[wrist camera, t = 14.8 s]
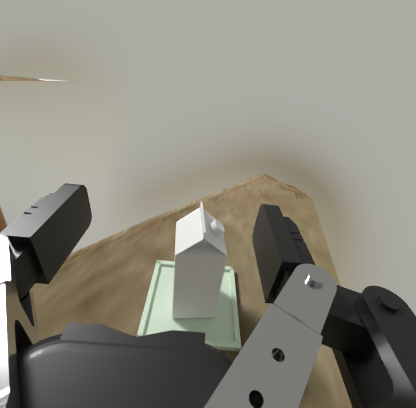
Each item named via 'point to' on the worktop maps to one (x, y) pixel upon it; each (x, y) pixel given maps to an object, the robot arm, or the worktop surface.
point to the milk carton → (198, 265)
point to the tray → (212, 327)
